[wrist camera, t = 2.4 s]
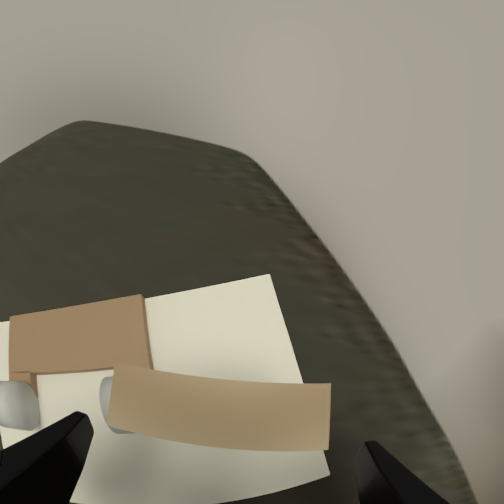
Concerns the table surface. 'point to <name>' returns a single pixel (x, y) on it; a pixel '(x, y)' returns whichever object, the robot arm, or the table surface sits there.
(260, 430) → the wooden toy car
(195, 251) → the table surface
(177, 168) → the table surface
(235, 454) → the board
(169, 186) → the table surface
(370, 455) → the robot arm
